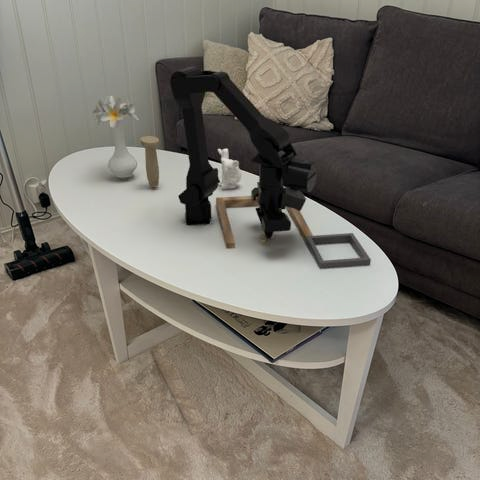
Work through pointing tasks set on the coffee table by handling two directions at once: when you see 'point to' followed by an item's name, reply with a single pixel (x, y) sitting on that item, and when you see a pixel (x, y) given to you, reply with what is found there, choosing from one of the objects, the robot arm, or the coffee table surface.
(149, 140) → the handle
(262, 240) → the dice set
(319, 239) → the bin
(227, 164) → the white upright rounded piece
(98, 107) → the flower vase
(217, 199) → the wooden u-frame
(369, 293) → the coffee table surface
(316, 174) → the robot arm
